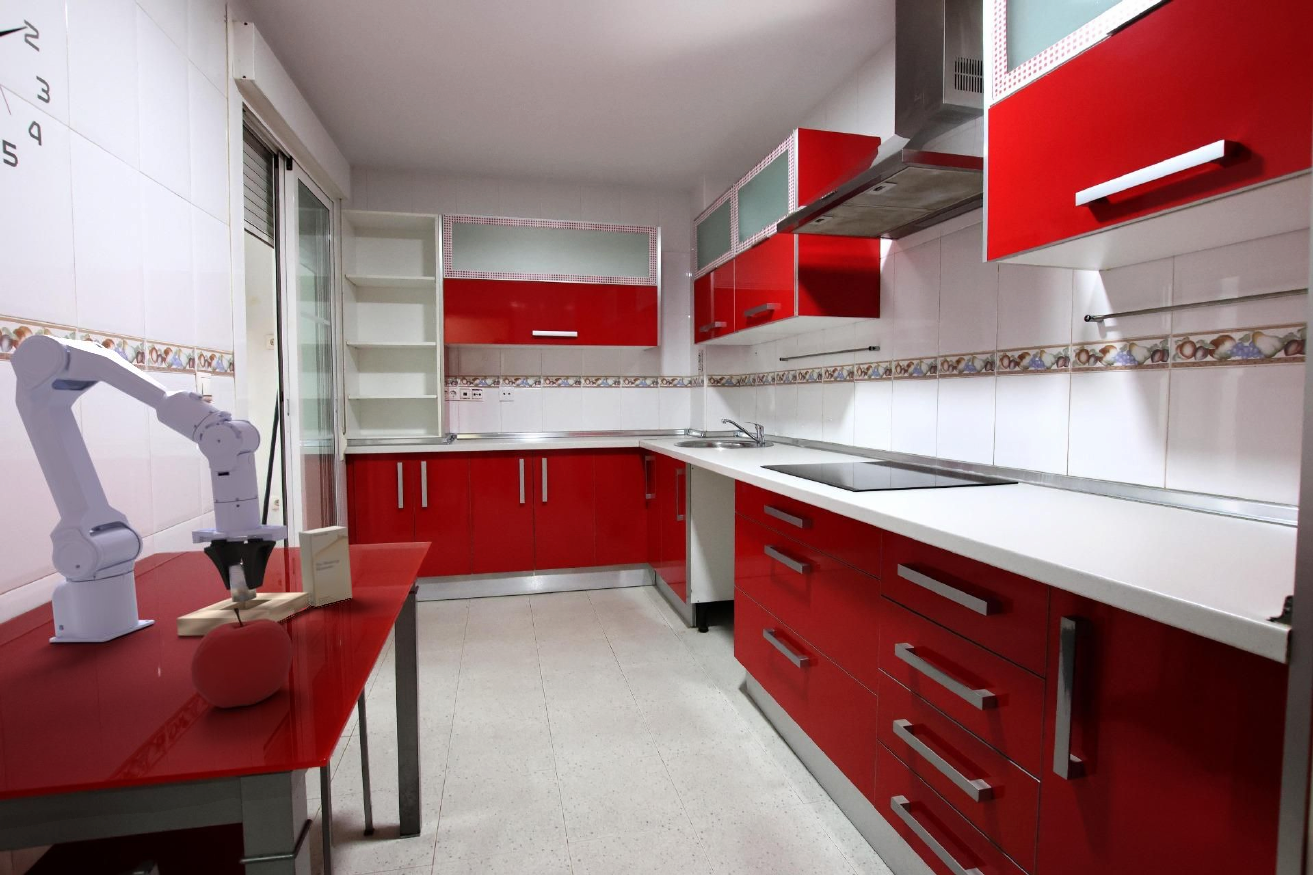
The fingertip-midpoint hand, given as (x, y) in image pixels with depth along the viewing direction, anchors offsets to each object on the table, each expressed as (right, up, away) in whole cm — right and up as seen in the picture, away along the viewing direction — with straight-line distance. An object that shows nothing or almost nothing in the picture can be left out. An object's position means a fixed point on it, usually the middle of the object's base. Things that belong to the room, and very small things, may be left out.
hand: (244, 587), depth 96 cm
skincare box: (+9, -4, +8) cm, 13 cm away
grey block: (0, -2, 0) cm, 2 cm away
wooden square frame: (0, -5, 0) cm, 5 cm away
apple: (+18, -6, -28) cm, 34 cm away
